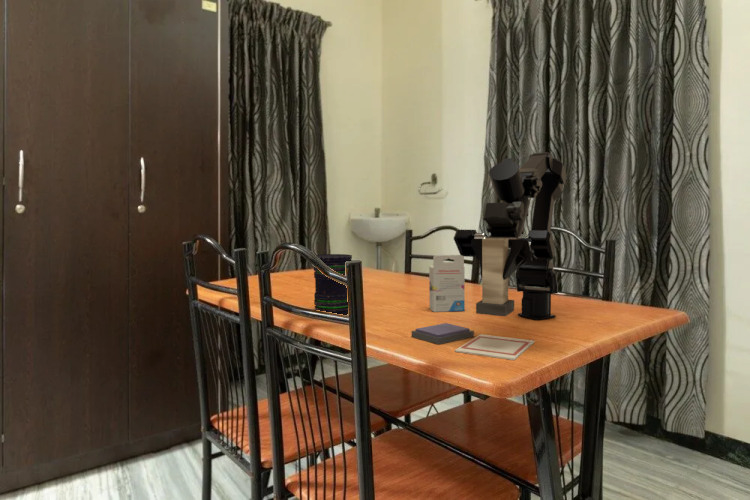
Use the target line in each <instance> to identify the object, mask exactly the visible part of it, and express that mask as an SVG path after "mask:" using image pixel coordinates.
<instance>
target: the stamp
mask: <svg viewBox="0 0 750 500" xmlns="http://www.w3.org/2000/svg"><path fill="white" fill-rule="evenodd" d="M508 256H509V249H508V238H486V239H482V277H481V280H482V281H481V282H482V286H481V287H482V288H481V289H482V291H481V292H482V293H481V294H482V295H481V297H482V298H481V300H479V301H478V302H476V303H475V305H476V306H475V313H476V314H478V315H486V316H499V317H504V318H505V317H507V316H509V315H510V314H511V313H512V312H515V300H514V299H509V277H508V278H507V279H506V280H504V279H503V271H504V267H505V265H506V262H507V259H508ZM476 314H475V315H476Z"/></svg>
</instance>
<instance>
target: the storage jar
mask: <svg viewBox="0 0 750 500" xmlns="http://www.w3.org/2000/svg"><path fill="white" fill-rule="evenodd" d="M316 256H317V257H318V258H320V259H321V260H322V261H323V262H324V263H325V264H326V265H327V266H329V267H330V268H331V269H333V270H334V271H336V272H338V273H340V274H343V275H345V262H346V261H352V258H353V255H352V254H343V253H342V254H341V253H332V254H329V253H328V254H327V253H326V254H325V253H324V254H317V255H316ZM313 271H314V272H313V278H314V285H315V286H314V287H315V292H314V300H313V303H314V311H315V310H320V311H326V312H332V313H337V314H343V315H347V314H348V302H347V288H346V286H345V285H343V284H340V283H338V282H336V281H334V280H332V279H330V278H328V277H326V276H325V275H324V274H322V273H321V272H320V271H319V270H318V269H317V268H315V267H314V266H313Z"/></svg>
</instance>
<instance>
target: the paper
mask: <svg viewBox="0 0 750 500" xmlns="http://www.w3.org/2000/svg"><path fill="white" fill-rule="evenodd" d="M534 343H535V340H530V339H522V338H514V337H506V336H497V335H489V334H479V335H477V336H476V337H473V338H472V339H470V340H469V341H468V342H466V343H464V344H463V345H460V346H459V347H458V348H456V349H454V352H455V353H461V354H469V355H475V356H483V357H489V358H495V359H496V358H497V359H503V360H511V361H516V360H517V358H519V357H520V356H521V355H522V354H523V353H525V352H526V351H527V350H528V349H529V348H530V347H531V346H532V345H533V344H534Z"/></svg>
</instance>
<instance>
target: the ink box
mask: <svg viewBox="0 0 750 500" xmlns="http://www.w3.org/2000/svg"><path fill="white" fill-rule="evenodd" d="M432 258H433V259H432V261H433V265H429V266H428V268H429V269H428V271H429V273H428V274H429V276H428V277H429V279H428V280H429V281H428V282H429V287H428V288H429V310H431V312H432V313H433V312H434V313H440V312H444V313H445V312H465V310H466V309H465V305H466V304H465V301H466V300H465V296H466V295H465V283H466V282H465V281H466V280H465V279H466V278H465V256H462V255H460V254H449V255H447V254H445V255H443V254H442V255H436V254H435V255H433V257H432ZM448 259H450V260H453V261H446V260H448Z"/></svg>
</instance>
